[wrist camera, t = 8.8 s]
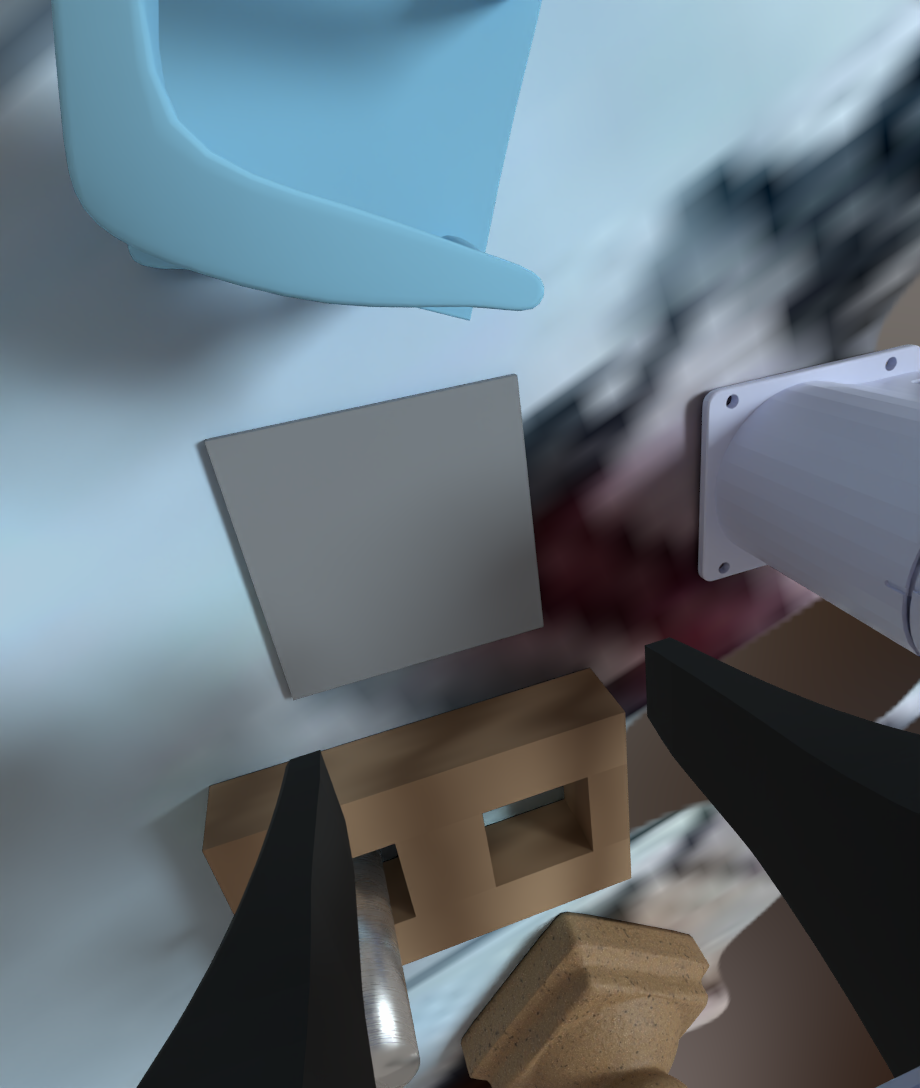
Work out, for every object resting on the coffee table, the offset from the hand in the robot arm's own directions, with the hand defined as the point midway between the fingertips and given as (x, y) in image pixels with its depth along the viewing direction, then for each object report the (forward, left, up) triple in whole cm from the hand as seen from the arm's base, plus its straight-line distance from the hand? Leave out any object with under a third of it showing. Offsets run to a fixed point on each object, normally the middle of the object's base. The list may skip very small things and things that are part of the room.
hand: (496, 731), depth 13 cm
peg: (+5, +13, -10) cm, 17 cm away
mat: (0, 0, -10) cm, 10 cm away
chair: (0, -12, -10) cm, 16 cm away
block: (+1, +13, -10) cm, 17 cm away
